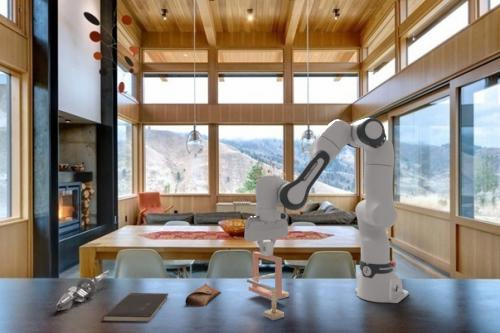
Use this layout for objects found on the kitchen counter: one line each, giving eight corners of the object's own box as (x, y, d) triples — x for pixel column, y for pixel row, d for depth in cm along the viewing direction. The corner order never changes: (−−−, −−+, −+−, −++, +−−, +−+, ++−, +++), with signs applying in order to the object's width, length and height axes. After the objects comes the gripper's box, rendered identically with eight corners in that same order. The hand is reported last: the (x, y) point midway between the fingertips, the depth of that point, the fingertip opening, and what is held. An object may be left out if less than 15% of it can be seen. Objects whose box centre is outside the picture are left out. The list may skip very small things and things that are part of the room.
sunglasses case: (206, 306, 129) (197, 290, 130) (191, 315, 130) (182, 298, 132) (222, 291, 146) (214, 277, 148) (208, 299, 148) (201, 284, 149)
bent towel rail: (280, 293, 145) (280, 270, 145) (315, 306, 130) (315, 280, 130) (239, 304, 132) (239, 278, 132) (273, 320, 117) (273, 291, 117)
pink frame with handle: (259, 287, 145) (260, 238, 145) (285, 297, 133) (285, 244, 134) (248, 290, 141) (248, 240, 142) (274, 300, 129) (274, 245, 130)
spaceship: (120, 266, 156) (104, 259, 157) (70, 302, 121) (50, 293, 122) (114, 282, 157) (98, 275, 158) (63, 322, 122) (43, 313, 123)
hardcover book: (168, 299, 139) (168, 293, 139) (149, 323, 116) (150, 316, 116) (128, 298, 139) (128, 292, 139) (102, 322, 116) (102, 315, 116)
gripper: (251, 217, 129) (251, 255, 129) (290, 214, 142) (290, 248, 141) (240, 216, 134) (240, 252, 133) (279, 213, 147) (279, 246, 146)
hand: (266, 250), depth 138 cm, fingers closed on pink frame with handle, 3 cm apart
